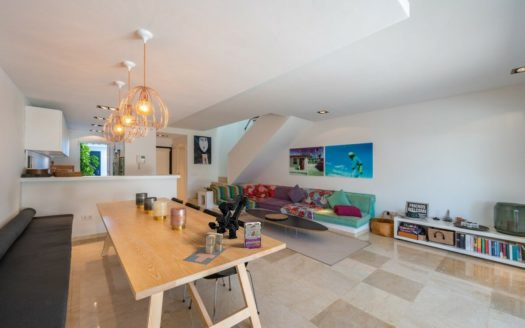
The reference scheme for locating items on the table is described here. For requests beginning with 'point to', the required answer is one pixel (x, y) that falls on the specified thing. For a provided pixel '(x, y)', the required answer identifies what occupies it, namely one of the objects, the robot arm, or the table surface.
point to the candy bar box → (252, 235)
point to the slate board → (203, 256)
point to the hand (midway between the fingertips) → (217, 238)
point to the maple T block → (214, 242)
